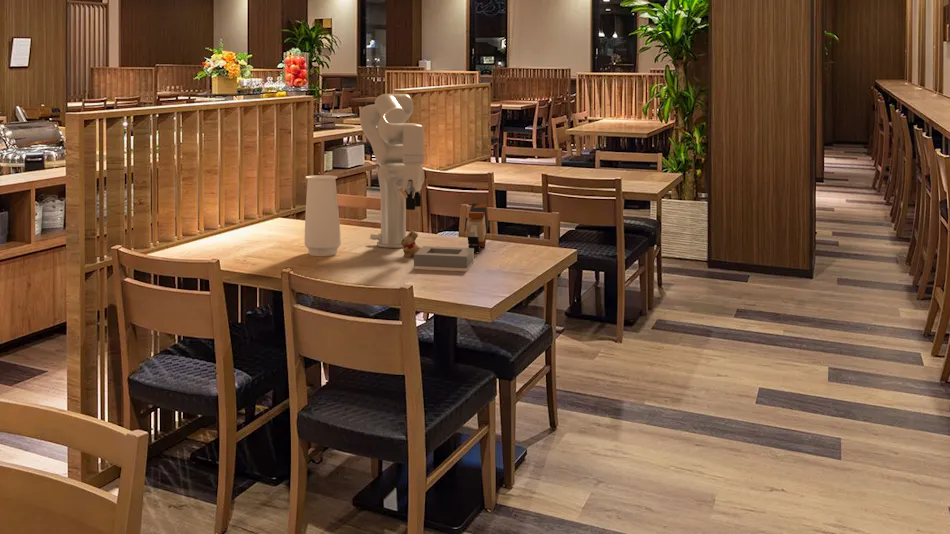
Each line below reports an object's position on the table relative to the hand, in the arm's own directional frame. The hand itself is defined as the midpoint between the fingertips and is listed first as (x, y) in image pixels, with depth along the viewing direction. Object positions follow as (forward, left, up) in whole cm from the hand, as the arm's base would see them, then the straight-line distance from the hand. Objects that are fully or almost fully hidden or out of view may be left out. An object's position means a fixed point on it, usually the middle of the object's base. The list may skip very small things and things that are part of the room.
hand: (413, 208), depth 318 cm
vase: (-33, -2, -18) cm, 38 cm away
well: (+14, -14, -18) cm, 26 cm away
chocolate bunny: (0, 0, -18) cm, 18 cm away
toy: (+20, +20, -18) cm, 34 cm away
